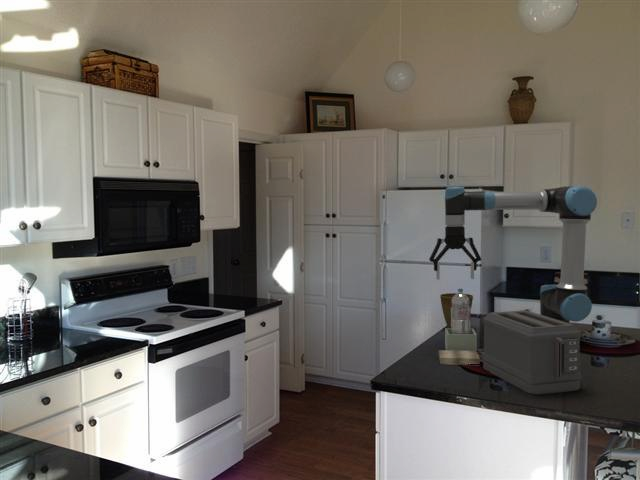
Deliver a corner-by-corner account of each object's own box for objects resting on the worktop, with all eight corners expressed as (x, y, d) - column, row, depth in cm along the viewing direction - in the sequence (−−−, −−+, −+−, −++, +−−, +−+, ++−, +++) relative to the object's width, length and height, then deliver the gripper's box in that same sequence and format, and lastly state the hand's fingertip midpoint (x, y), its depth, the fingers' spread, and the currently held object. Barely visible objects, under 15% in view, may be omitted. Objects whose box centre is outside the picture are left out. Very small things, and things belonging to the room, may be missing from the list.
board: (476, 357, 224) (476, 350, 224) (479, 365, 213) (479, 358, 213) (438, 356, 226) (438, 350, 225) (440, 364, 215) (440, 357, 215)
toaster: (535, 397, 178) (536, 331, 177) (479, 367, 211) (479, 311, 209) (588, 392, 182) (589, 327, 181) (525, 363, 215) (526, 308, 214)
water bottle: (470, 349, 235) (470, 287, 233) (468, 354, 228) (468, 290, 227) (452, 348, 237) (452, 287, 235) (450, 352, 231) (450, 289, 229)
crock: (473, 348, 238) (473, 328, 237) (476, 355, 226) (476, 334, 226) (445, 347, 239) (445, 328, 239) (447, 354, 228) (447, 334, 227)
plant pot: (476, 332, 264) (476, 297, 263) (443, 333, 265) (443, 298, 264) (468, 325, 279) (468, 292, 278) (437, 326, 280) (437, 292, 278)
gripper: (484, 224, 236) (484, 277, 237) (422, 226, 237) (422, 278, 238) (489, 225, 229) (489, 279, 230) (424, 226, 229) (425, 280, 231)
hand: (455, 279), depth 234 cm, fingers open, 13 cm apart
